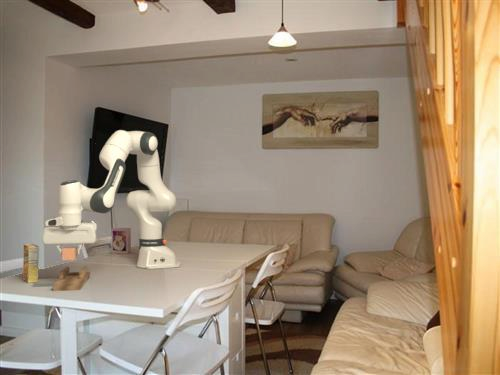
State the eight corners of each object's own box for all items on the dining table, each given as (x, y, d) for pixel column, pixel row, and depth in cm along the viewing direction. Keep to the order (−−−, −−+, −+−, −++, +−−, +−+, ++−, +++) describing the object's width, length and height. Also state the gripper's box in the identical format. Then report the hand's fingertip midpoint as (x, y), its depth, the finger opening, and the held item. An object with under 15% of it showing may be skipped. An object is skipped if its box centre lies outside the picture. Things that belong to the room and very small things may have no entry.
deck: (90, 277, 193) (90, 264, 193) (80, 289, 169) (80, 275, 169) (66, 277, 191) (66, 265, 191) (53, 290, 167) (53, 276, 167)
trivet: (61, 281, 184) (61, 278, 184) (56, 285, 176) (56, 282, 176) (39, 281, 182) (39, 278, 182) (33, 286, 174) (33, 283, 174)
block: (76, 257, 176) (76, 246, 175) (74, 259, 171) (74, 248, 171) (65, 258, 175) (64, 247, 175) (62, 260, 170) (62, 249, 170)
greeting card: (110, 252, 262) (110, 228, 262) (117, 251, 269) (118, 227, 269) (126, 253, 259) (127, 229, 259) (133, 252, 266) (134, 228, 266)
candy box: (22, 279, 186) (22, 244, 186) (33, 278, 189) (33, 243, 189) (28, 283, 179) (28, 246, 179) (38, 281, 182) (39, 245, 182)
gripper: (98, 219, 178) (98, 252, 179) (45, 220, 174) (45, 254, 175) (95, 221, 172) (95, 255, 172) (40, 221, 168) (41, 256, 168)
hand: (69, 254), depth 173 cm, fingers closed on block, 4 cm apart
